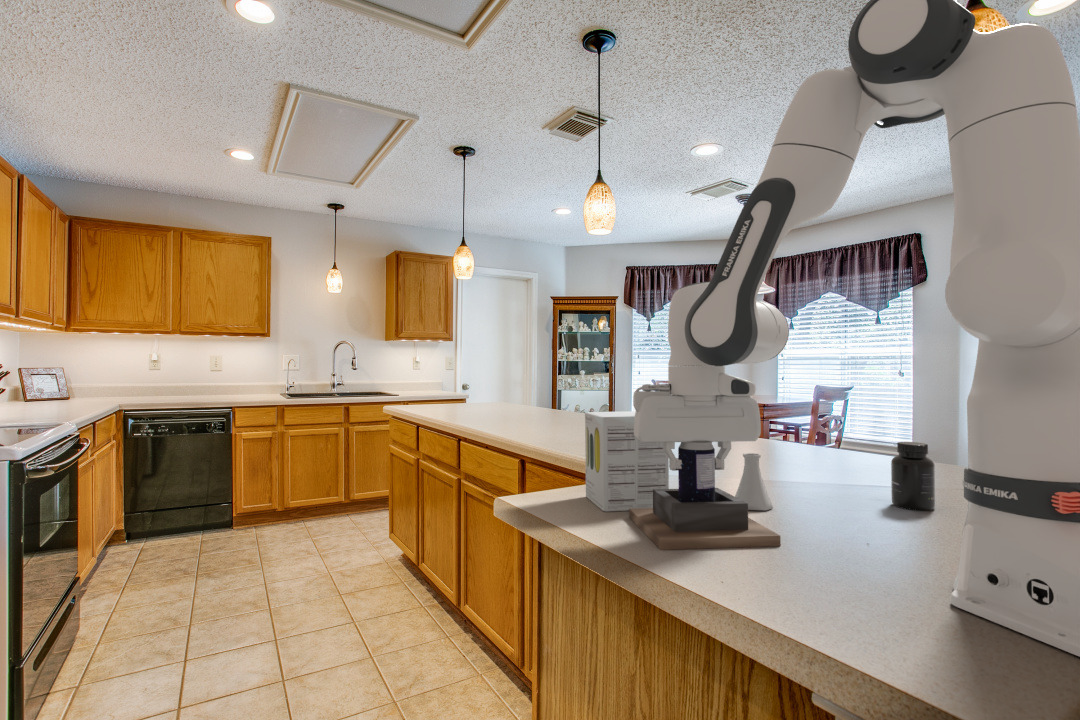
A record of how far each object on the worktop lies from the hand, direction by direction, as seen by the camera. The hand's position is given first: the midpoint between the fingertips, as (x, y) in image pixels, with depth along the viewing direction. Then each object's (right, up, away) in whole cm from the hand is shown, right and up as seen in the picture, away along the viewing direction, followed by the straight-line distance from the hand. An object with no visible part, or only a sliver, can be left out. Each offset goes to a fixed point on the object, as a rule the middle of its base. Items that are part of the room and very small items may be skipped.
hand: (696, 469), depth 89 cm
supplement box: (-9, -11, +19) cm, 23 cm away
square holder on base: (0, -10, 0) cm, 10 cm away
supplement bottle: (+45, -10, +15) cm, 48 cm away
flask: (+15, -10, +15) cm, 24 cm away
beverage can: (0, -8, 0) cm, 8 cm away
